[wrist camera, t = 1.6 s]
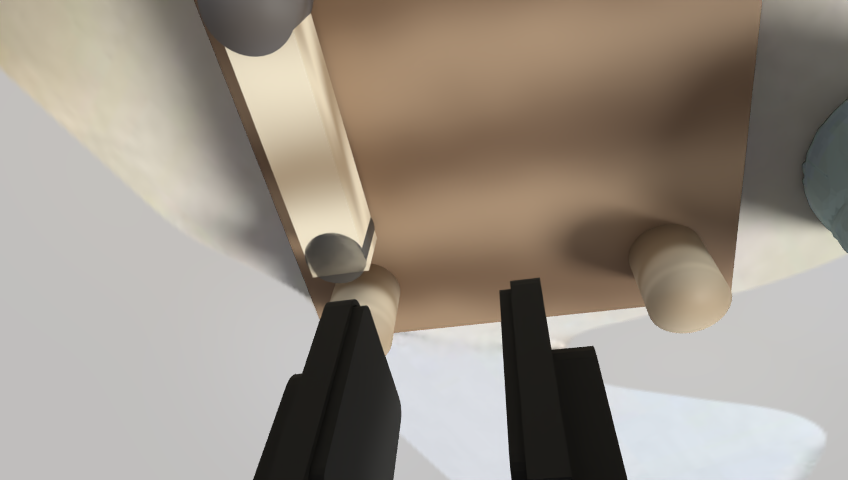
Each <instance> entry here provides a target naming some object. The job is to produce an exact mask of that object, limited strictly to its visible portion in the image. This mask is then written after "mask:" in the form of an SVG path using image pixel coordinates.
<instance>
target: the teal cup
mask: <svg viewBox="0 0 848 480" xmlns="http://www.w3.org/2000/svg"><path fill="white" fill-rule="evenodd" d="M802 169H803V173H804V175H805V176H804V178H803V180H802V182H803V184H804V192H805V195H806V198H807V200H808V203H809V206H810V207H811V209H812V210H813V212H814V213H815V215H816V216H817V217H818V219H819V220H820V221H821V222H822V223H823V225H824V226H825V227H826V228H827V229H828V230H830V231H831V232H832V234H833V236H834V237H835V238H836V239H837V240H838V242H839V243H840V245H841V246H842V248H843V249H844V250H845V251H846V252H847V253H848V99H847V100H845V101H844V102H843V103H842V104H841V105H840V106H839V107H838V108H837V109H836V110H835V111H834V112H833V113H832V114H831V115H830V117H829V118H828V119H827V120H826V121H825V122H824V124H823V125H822V126H821V127H820V128H819V129H818V131H817V133H816V135H815V137H814V139H813V141H812V143H811V146H810V148H809V150H808V152H807V154H806V161H805V162H804V163H803V164H802Z"/></svg>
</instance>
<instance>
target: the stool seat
mask: <svg viewBox="0 0 848 480" xmlns="http://www.w3.org/2000/svg"><path fill="white" fill-rule="evenodd" d="M194 2H195V4H196V7H197V9H198V12H199V14H200V11H199V7H198V2H197V0H194ZM761 7H762V0H313V7H312V11H311V16H312V19H313V22H314V26H315V29H316V33H317V36H318V39H319V43H320V46H321V50H322V53H323V56H324V60H325V63H326V67H327V70H328V73H329V77H330V80H331V84H332V87H333V90H334V94H335V97H336V100H337V104H338V107H339V111H340V114H341V117H342V121H343V124H344V128H345V131H346V134H347V138H348V141H349V145H350V148H351V151H352V155H353V158H354V162H355V165H356V168H357V172H358V175H359V179H360V182H361V185H362V189H363V192H364V195H365V199H366V202H367V206H368V209H369V212H370V216H371V218H372V220H373V222H374V227H375V233H376V236H377V240H376V244H375V248H374V252H373V256H372V260H371V264H370V268H369V271H364V272H363V273H362V274H361V275H360V276H359V277H358V278H357V279H355V280H353V281H351V282H348V283H332V282H328V281H325V280H323V279H321V278H319V277H313V276H312V273H311V271H310V269H309V267H308V265H307V263H306V260H305V255H304V252H303V250H302V247H301V245H300V242H299V239H298V237H297V234H296V231H295V229H294V226H293V224H292V221H291V218H290V216H289V213H288V211H287V208H286V205H285V203H284V200H283V198H282V195H281V192H280V190H279V187H278V184H277V182H276V179H275V177H274V174H273V171H272V169H271V166H270V164H269V161H268V158H267V156H266V153H265V151H264V148H263V145H262V143H261V140H260V138H259V135H258V132H257V130H256V127H255V124H254V122H253V119H252V117H251V114H250V111H249V109H248V106H247V104H246V101H245V98H244V96H243V93H242V91H241V88H240V85H239V83H238V80H237V77H236V75H235V72H234V70H233V67H232V64H231V62H230V59H229V57H228V54H227V51H226V49H225V46H223V45H222V44H221V43H220V42H219V41H217V40H216V39H215V37H214V36H213V35H212V34H211V33H210V31H209V30H208V29H207V27H206V25H205V24H204V22H203V19H202V17H201V14H200V17H201V19H202V22H203V25H204V27H205V30H206V32H207V35H208V37H209V40H210V42H211V45H212V47H213V50H214V52H215V55H216V57H217V60H218V63H219V65H220V68H221V70H222V73H223V75H224V78H225V80H226V83H227V85H228V88H229V90H230V93H231V95H232V98H233V101H234V103H235V106H236V108H237V111H238V113H239V116H240V118H241V121H242V123H243V126H244V128H245V131H246V134H247V136H248V139H249V141H250V144H251V146H252V149H253V151H254V154H255V156H256V159H257V161H258V164H259V166H260V169H261V172H262V174H263V177H264V179H265V182H266V184H267V187H268V189H269V192H270V194H271V197H272V199H273V202H274V204H275V207H276V210H277V212H278V215H279V217H280V220H281V222H282V225H283V227H284V230H285V232H286V235H287V237H288V240H289V243H290V245H291V248H292V250H293V253H294V255H295V258H296V260H297V263H298V265H299V268H300V270H301V273H302V275H303V278H304V281H305V283H306V286H307V288H308V291H309V293H310V296H311V298H312V301H313V303H314V306H315V308H316V311H317V313H318V316H319V319H320V318H321V315H322V312H323V309H324V306H325V304H326V303H328V302H333V301H342V300H350V299H356V300H357V301H358V302H359V304H360V306H365V305H367V306H368V307H369V309H370V311H371V314H372V317H373V320H374V323H375V326H376V329H377V332H378V335H379V339H380V342H381V345H382V348H383V351H384V354H385V356H386V355H387V353H388V352H389V350H390V348H391V345H392V339H393V333H397V332H407V331H416V330H426V329H435V328H445V327H454V326H464V325H473V324H483V323H493V322H501V312H500V295H499V290H505V289H511V288H510V281H514V280H522V279H531V278H539V277H540V282H541V288H542V294H543V300H544V307H545V313H546V317H550V316H559V315H569V314H578V313H588V312H597V311H607V310H616V309H626V308H636V307H645V306H646V309H647V311H648V314H649V316H650V318H651V320H652V321H653V323H654V324H655V325H657V326H658V327H659V328H661V329H663V330H666V331H669V332H674V333H692V332H696V331H700V330H703V329H705V328H708V327H710V326H711V325H713V324H715V323H716V322H718V321H719V320H720V319H721V318H722V317H723V316H724V315H725V314H726V312H727V311H728V309H729V307H730V304H731V301H732V293H731V287H732V278H733V268H734V259H735V250H736V240H737V231H738V222H739V212H740V203H741V194H742V184H743V175H744V166H745V156H746V147H747V138H748V128H749V119H750V110H751V100H752V91H753V82H754V72H755V63H756V54H757V44H758V35H759V26H760V16H761Z"/></svg>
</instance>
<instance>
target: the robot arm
mask: <svg viewBox="0 0 848 480" xmlns="http://www.w3.org/2000/svg"><path fill="white" fill-rule="evenodd" d="M510 288H511V289H505V290H499V295H500V312H501V328H502V344H503V361H504V377H505V394H506V410H507V426H508V443H509V459H510V470H511V479H512V480H627V476H626V472H625V468H624V464H623V460H622V456H621V452H620V448H619V444H618V440H617V436H616V432H615V428H614V424H613V419H612V415H611V411H610V407H609V403H608V399H607V395H606V391H605V387H604V383H603V379H602V375H601V371H600V368H599V363H598V359H597V355H596V352H595V349H594V347H593V346H587V347H577V348H566V349H556V350H551V344H550V338H549V332H548V326H547V319H546V313H545V307H544V300H543V294H542V288H541V282H540V277H539V278H531V279H522V280H514V281H510ZM400 423H401V404H400V400H399V396H398V393H397V390H396V387H395V384H394V381H393V378H392V375H391V372H390V369H389V366H388V363H387V360H386V357H385V354H384V351H383V348H382V345H381V342H380V339H379V335H378V332H377V329H376V326H375V323H374V320H373V317H372V314H371V311H370V309H369V307H368V306H367V305H365V306H360V304H359V302H358V301H357V300H356V299H350V300H342V301H333V302H328V303H326V304H325V306H324V309H323V312H322V315H321V318H320V321H319V324H318V327H317V330H316V333H315V336H314V339H313V343H312V346H311V349H310V352H309V355H308V357H307V361H306V364H305V367H304V370H303V373H302V374H295V375H293V376H292V377H291V378H290V379H289V381H288V383H287V385H286V388H285V391H284V394H283V397H282V400H281V402H280V405H279V408H278V411H277V414H276V416H275V419H274V423H273V425H272V428H271V431H270V433H269V436H268V439H267V442H266V445H265V448H264V450H263V453H262V456H261V459H260V462H259V464H258V467H257V470H256V473H255V476H254V479H253V480H393V478H394V470H395V462H396V454H397V446H398V439H399V431H400Z"/></svg>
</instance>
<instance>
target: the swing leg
mask: <svg viewBox="0 0 848 480" xmlns="http://www.w3.org/2000/svg"><path fill="white" fill-rule="evenodd" d="M197 2H198V7H199V11H200V14H201V17H202V19H203V22H204V24H205V25H206V27H207V29H208V30H209V31H210V33H211V34H212V35H213V36H214V37H215V39H216V40H217V41H219V42H220V43H221V44H222V45H223V46H225V49H226V51H227V54H228V57H229V59H230V62H231V64H232V67H233V70H234V72H235V75H236V77H237V80H238V83H239V85H240V88H241V91H242V93H243V96H244V98H245V101H246V104H247V106H248V109H249V111H250V114H251V117H252V119H253V122H254V124H255V127H256V130H257V132H258V135H259V138H260V140H261V143H262V145H263V148H264V151H265V153H266V156H267V158H268V161H269V164H270V166H271V169H272V171H273V174H274V177H275V179H276V182H277V184H278V187H279V190H280V192H281V195H282V198H283V200H284V203H285V205H286V208H287V211H288V213H289V216H290V218H291V221H292V224H293V226H294V229H295V231H296V234H297V237H298V239H299V242H300V245H301V247H302V250H303V252H304V255H305V260H306V263H307V265H308V267H309V269H310V271H311V273H312V276H313V277H319V278H321V279H323V280H325V281H328V282H332V283H348V282H351V281H353V280H355V279H357V278H358V277H359V276H360V275H361V274H362V273H363V272H364V271H369V268H370V264H371V260H372V256H373V252H374V248H375V244H376V240H377V236H376V233H375V227H374V222H373V220H372V218H371V216H370V212H369V209H368V206H367V202H366V199H365V195H364V192H363V189H362V185H361V182H360V179H359V175H358V172H357V168H356V165H355V162H354V158H353V155H352V151H351V148H350V145H349V141H348V138H347V134H346V131H345V128H344V124H343V121H342V117H341V114H340V111H339V107H338V104H337V100H336V97H335V94H334V90H333V87H332V84H331V80H330V77H329V73H328V70H327V67H326V63H325V60H324V56H323V53H322V50H321V46H320V43H319V39H318V36H317V33H316V29H315V26H314V22H313V19H312V16H311V11H312V7H313V0H197Z"/></svg>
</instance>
